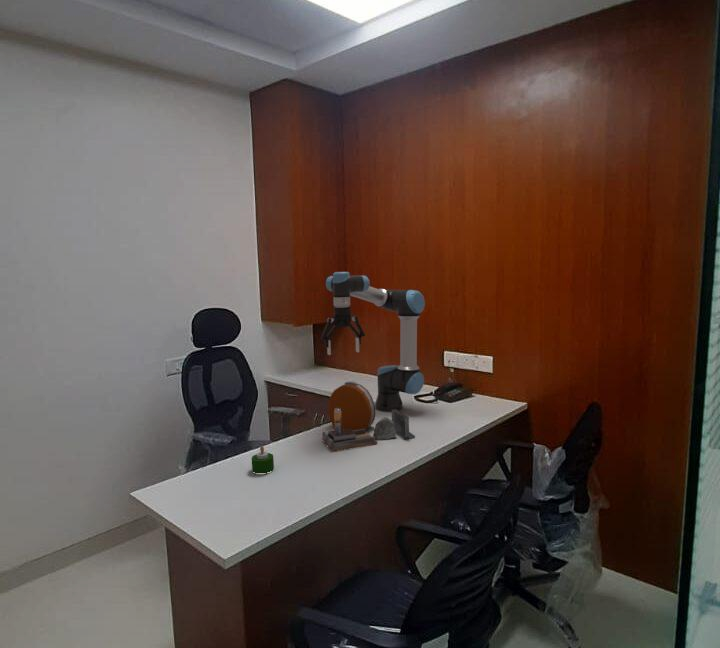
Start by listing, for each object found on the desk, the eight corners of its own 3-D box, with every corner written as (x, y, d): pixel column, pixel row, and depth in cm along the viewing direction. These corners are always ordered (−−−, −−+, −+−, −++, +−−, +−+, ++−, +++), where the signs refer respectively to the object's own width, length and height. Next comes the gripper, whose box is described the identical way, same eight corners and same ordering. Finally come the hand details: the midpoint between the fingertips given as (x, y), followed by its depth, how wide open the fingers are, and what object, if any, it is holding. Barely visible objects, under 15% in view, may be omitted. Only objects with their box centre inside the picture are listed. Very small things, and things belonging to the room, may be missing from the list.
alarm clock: (377, 426, 236) (376, 381, 233) (369, 433, 227) (368, 385, 225) (337, 421, 245) (336, 377, 243) (328, 427, 237) (326, 382, 234)
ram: (328, 439, 217) (327, 407, 215) (349, 435, 220) (348, 404, 218) (334, 445, 209) (332, 412, 207) (355, 441, 212) (354, 409, 210)
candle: (263, 476, 183) (262, 451, 182) (247, 472, 187) (246, 447, 186) (278, 468, 190) (277, 444, 189) (262, 464, 194) (261, 440, 193)
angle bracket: (392, 430, 231) (391, 409, 229) (401, 428, 232) (401, 408, 231) (405, 439, 218) (404, 418, 216) (415, 437, 219) (414, 416, 218)
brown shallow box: (322, 440, 219) (321, 431, 218) (365, 434, 226) (365, 425, 225) (331, 451, 206) (331, 442, 205) (377, 444, 213) (377, 434, 212)
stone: (385, 418, 215) (388, 411, 225) (368, 432, 218) (372, 424, 228) (399, 435, 215) (401, 427, 225) (382, 448, 218) (385, 439, 227)
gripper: (317, 308, 210) (319, 357, 212) (371, 305, 218) (372, 352, 221) (312, 307, 217) (314, 354, 219) (364, 304, 225) (366, 349, 228)
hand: (343, 353), depth 220 cm, fingers open, 13 cm apart
